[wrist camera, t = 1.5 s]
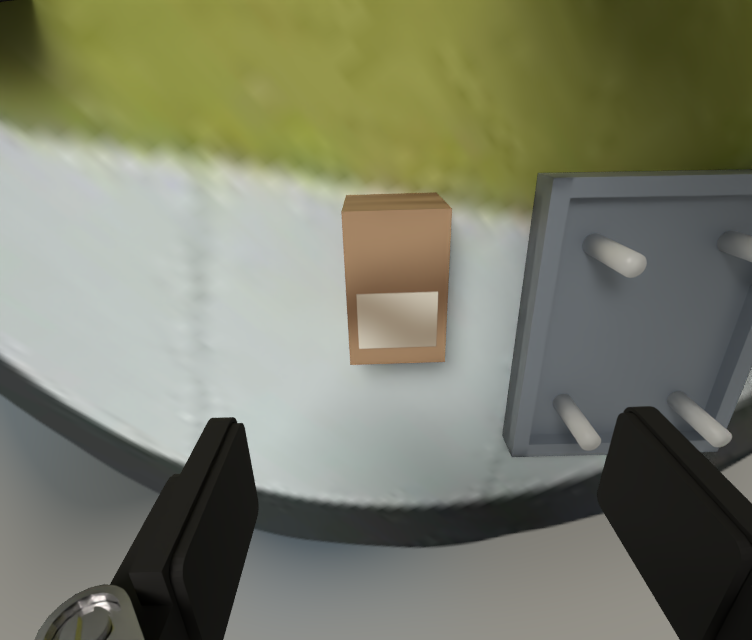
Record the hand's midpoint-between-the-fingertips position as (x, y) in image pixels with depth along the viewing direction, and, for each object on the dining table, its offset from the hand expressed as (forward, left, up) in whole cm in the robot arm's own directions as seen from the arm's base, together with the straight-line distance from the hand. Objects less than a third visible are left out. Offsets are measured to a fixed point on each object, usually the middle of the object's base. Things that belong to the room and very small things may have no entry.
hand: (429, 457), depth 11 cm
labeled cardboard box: (0, 0, -16) cm, 16 cm away
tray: (+4, +15, -16) cm, 22 cm away
